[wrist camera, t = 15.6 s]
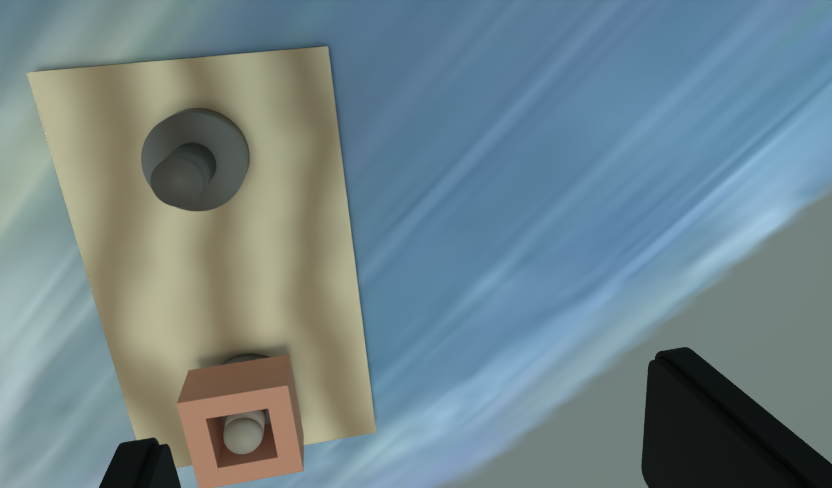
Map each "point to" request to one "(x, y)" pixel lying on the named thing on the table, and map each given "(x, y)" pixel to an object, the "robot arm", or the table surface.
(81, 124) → the board
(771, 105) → the table surface
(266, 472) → the collar
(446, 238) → the table surface
